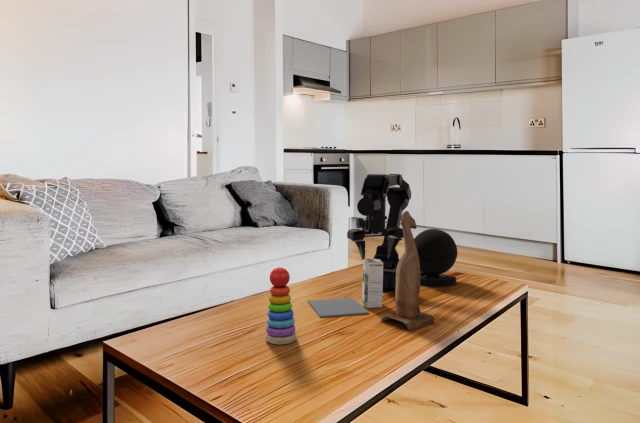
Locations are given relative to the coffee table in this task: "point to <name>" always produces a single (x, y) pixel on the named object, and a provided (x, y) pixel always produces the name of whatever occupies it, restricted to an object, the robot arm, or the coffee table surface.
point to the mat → (337, 307)
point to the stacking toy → (280, 310)
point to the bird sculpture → (408, 282)
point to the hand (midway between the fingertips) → (376, 259)
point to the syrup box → (372, 283)
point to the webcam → (435, 257)
